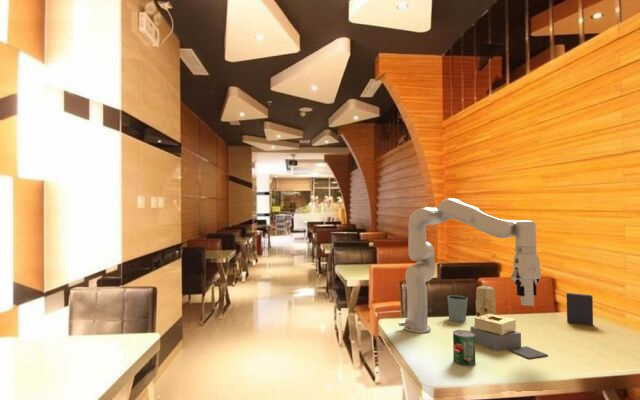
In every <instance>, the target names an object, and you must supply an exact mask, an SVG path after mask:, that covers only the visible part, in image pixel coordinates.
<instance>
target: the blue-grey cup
mask: <svg viewBox="0 0 640 400" xmlns="http://www.w3.org/2000/svg"><path fill="white" fill-rule="evenodd" d="M468 300H469V299H468V297H467V296H463V295H454V294H452V295H448V296H447V305H448V306H447V308H448V309H447V311H448V320H449V321H452V322H456V323H465V322H466V321H467V310H468V309H467V308H468Z"/></svg>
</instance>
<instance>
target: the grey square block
mask: <svg viewBox="0 0 640 400" xmlns="http://www.w3.org/2000/svg"><path fill="white" fill-rule="evenodd" d="M470 332H473V333H474V334H475V344H479V346H482V347H485V348H487V349H489V350H491V351H493V352H497V351H498V352H499V351H503V350H504V351H505V350H508V349H510V348H518V347H522V332H519V331H517V330H514V331H512V332H509V333H507V334H504V335H499V334H495V333H491V332H488V331H484V330H480V329H476V328H475V325H471V326H470Z"/></svg>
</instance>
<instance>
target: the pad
mask: <svg viewBox="0 0 640 400" xmlns="http://www.w3.org/2000/svg"><path fill="white" fill-rule="evenodd" d="M507 350H508V351H509V352H511V353H514V354H516V355H518V356H520V357H522V358H524V359H527V360H532V359H539V358H545V357H548V356H549V355H548V354H547V353H544V352H542V351H540V350H537V349H535V348H531V347H529V346H527V345H526V346H525V345H524V346H521V347H518V348H510V349H507Z"/></svg>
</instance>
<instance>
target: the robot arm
mask: <svg viewBox="0 0 640 400" xmlns="http://www.w3.org/2000/svg"><path fill="white" fill-rule="evenodd" d="M450 220H456V221H458V222H460V223H464V224H466V225H468V226H470V227H472V228H474V229H476V230H477V231H480V232H482V233H485V234H488V235H489V236H492V237H494V238H498V239H507V238H514V239H515V248H514V251H515V253H514V257H513V264H512V265H513V268H512V271H513V272H512V274H511V276H510V279H511V280H512V281H513V282H514V285H515V286H516V295H517V296H520V297H521V296H525V293H524V286H523V284H524V280H528V279H533V295H534V296H537V286H538V285H539V284H538V283H539V281H540V280H541V278H542V277H543V275H542V273H541V264H540V257H539V253H538V254H537V224H536V222H535V221H533V220H511V219H501V218H500V219H499V218H497V217H494V216H492V215H489V214H487V213H485V212H483V211H482V210H480V208H479V207H476V206H473V205H470V204H467V203H465V202H462V200H460V199H457V198H452V197H451V198H450V197H448V198H445V199H443V200H442V201H441V202H440V204H439V205H438V206H435V207H420V208H418V209H416V210H414V211H412V213H411V214H410V216H409V219H408V242H407V243H408V250H407V251H408V252H407V253H408V257H409V260H411V261H414V262H416V264H415V263H413V264H411V265H410V266H409V267H407V268H406V271H405V274H404V275H405V276H404V277H405V282H406V291H407V293H406V295H407V297H406V298H407V302H406V303H407V304H406V305H407V306H406V307H407V308H406V309H407V311H406V312H407V313H406V314H407V318H405V320H404V321H399V322H398V326H399V327H404V328H403V329H404V330H405V331H407V332H411V333H416V334H418V333H419V334H425V333H429V332H431V330H432V327H431V326H430V325H428V289H427V285H426V282H429V281H431V280H432V279H433V278H434V276H435V270H436V268H435V266H436V265H435V263H436V259H435V258H436V255H435V248H434V246H433V245H432V243H430V242H429V241H427V231H426V227H427V226H434V225H435V226H436V225H440V224H442V223H444V222H447V221H450ZM520 280H521V282H520Z"/></svg>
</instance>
